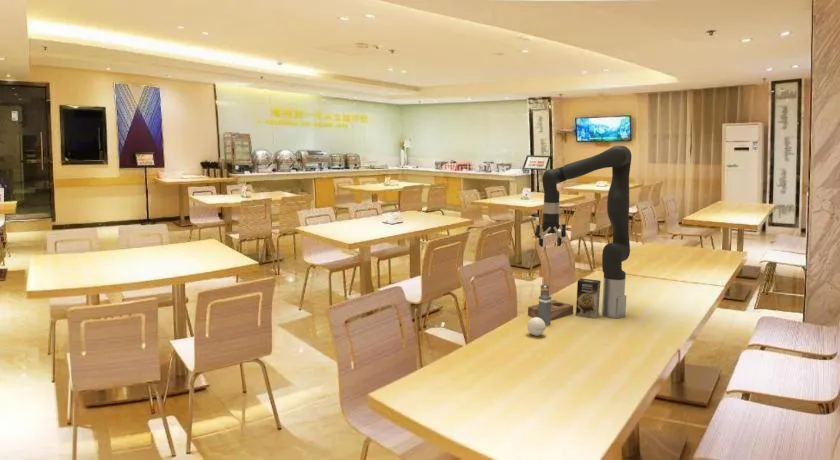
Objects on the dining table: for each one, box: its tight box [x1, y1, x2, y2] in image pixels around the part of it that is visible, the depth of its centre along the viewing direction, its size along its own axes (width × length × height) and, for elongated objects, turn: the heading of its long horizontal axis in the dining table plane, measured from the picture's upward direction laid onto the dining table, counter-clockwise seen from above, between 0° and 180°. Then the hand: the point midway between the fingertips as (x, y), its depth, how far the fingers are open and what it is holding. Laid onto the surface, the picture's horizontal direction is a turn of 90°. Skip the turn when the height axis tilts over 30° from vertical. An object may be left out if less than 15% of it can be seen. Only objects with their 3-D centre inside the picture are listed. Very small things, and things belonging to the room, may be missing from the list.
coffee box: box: [575, 277, 601, 319], centre depth 268 cm, size 9×6×16 cm
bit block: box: [527, 299, 574, 321], centre depth 270 cm, size 11×18×4 cm, turn 129°
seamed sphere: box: [526, 317, 548, 337], centre depth 242 cm, size 10×7×7 cm
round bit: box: [540, 284, 550, 296], centre depth 266 cm, size 4×4×14 cm
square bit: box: [538, 295, 552, 327], centre depth 256 cm, size 4×4×12 cm
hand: (549, 246), depth 283 cm, fingers open, 8 cm apart
